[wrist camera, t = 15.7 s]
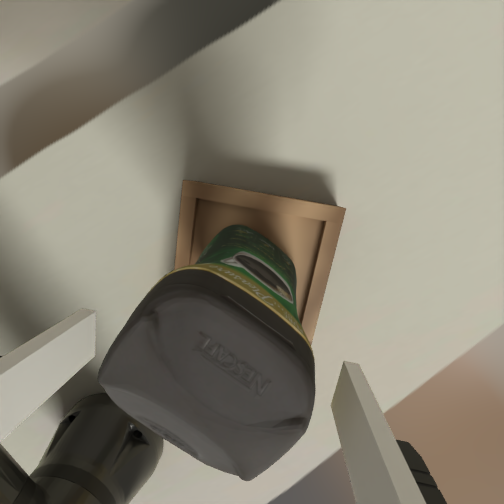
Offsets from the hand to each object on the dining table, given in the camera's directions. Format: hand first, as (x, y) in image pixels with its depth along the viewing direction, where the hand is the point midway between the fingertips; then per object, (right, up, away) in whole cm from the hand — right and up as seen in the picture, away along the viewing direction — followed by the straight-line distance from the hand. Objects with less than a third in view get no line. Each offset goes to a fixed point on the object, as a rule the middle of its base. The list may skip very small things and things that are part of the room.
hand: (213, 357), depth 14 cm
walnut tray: (+2, +4, +17) cm, 18 cm away
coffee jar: (+2, +4, +15) cm, 15 cm away
